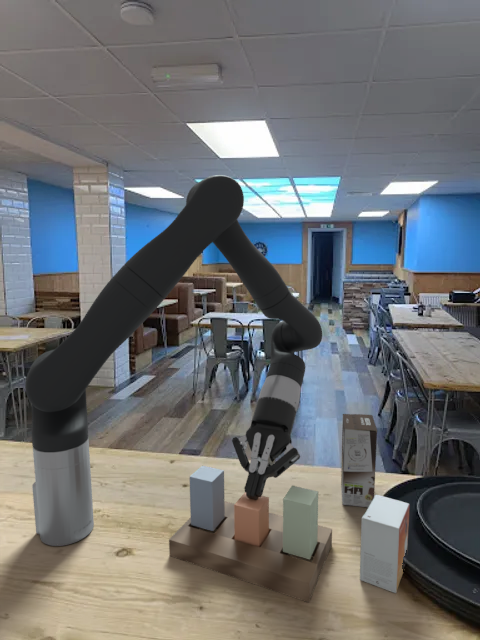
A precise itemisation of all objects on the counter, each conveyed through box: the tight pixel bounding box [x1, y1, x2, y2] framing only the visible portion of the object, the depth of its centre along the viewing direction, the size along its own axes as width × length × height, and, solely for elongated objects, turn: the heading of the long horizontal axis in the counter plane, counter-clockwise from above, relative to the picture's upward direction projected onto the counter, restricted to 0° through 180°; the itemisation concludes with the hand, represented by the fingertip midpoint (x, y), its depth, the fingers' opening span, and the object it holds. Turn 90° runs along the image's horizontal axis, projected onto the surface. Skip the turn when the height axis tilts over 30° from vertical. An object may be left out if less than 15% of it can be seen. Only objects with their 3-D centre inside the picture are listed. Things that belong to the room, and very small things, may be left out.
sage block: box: [282, 485, 319, 560], centre depth 70 cm, size 4×4×9 cm
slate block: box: [189, 465, 225, 532], centre depth 77 cm, size 4×4×9 cm
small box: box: [359, 494, 411, 594], centre depth 68 cm, size 8×6×10 cm
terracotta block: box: [233, 491, 270, 547], centre depth 74 cm, size 4×4×9 cm
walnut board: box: [168, 500, 333, 603], centre depth 74 cm, size 24×14×3 cm, turn 65°
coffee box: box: [340, 413, 378, 508], centre depth 90 cm, size 9×6×16 cm
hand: (251, 498), depth 73 cm, fingers closed
